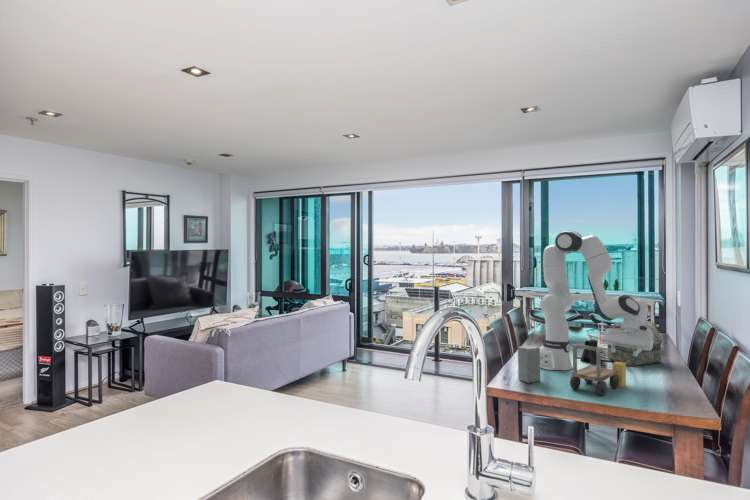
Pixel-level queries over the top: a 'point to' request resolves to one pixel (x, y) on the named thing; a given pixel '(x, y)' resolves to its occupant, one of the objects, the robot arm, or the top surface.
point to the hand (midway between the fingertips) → (623, 353)
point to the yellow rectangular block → (620, 372)
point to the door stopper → (590, 353)
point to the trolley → (593, 372)
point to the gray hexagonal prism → (529, 364)
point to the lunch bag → (627, 353)
